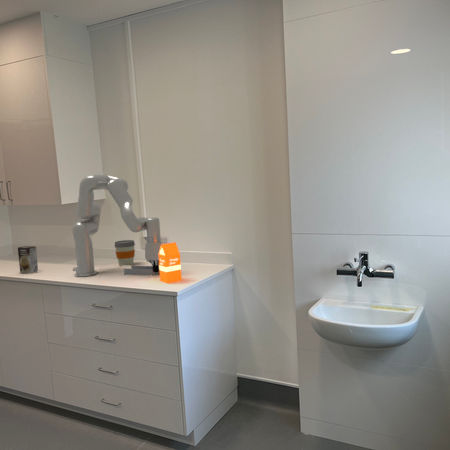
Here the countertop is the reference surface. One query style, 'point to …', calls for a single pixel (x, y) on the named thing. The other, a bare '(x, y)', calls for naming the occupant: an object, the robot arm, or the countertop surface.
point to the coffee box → (28, 259)
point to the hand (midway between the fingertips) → (156, 271)
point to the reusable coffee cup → (125, 252)
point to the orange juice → (169, 263)
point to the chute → (139, 270)
